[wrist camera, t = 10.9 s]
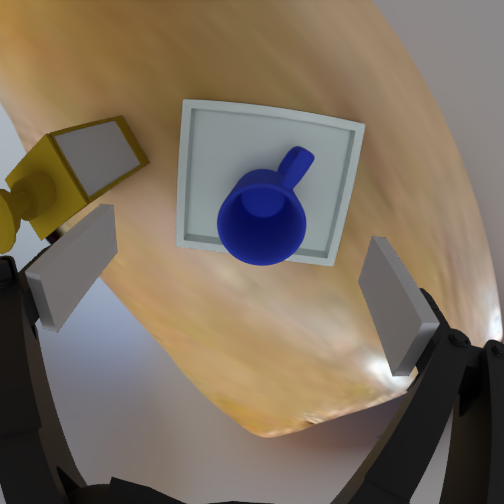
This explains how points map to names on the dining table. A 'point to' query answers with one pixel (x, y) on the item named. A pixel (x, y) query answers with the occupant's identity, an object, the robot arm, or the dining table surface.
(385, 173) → the dining table surface
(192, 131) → the tray
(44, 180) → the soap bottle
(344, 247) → the dining table surface
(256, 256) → the mug
